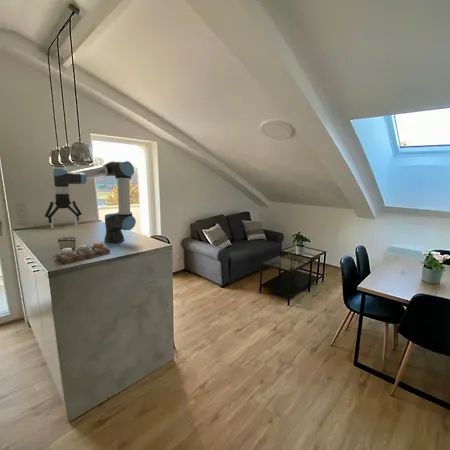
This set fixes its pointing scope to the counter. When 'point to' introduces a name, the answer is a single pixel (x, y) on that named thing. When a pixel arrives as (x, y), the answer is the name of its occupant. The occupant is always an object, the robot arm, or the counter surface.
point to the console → (82, 254)
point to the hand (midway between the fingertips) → (64, 227)
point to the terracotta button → (98, 244)
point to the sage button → (83, 247)
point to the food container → (67, 243)
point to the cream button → (66, 250)
